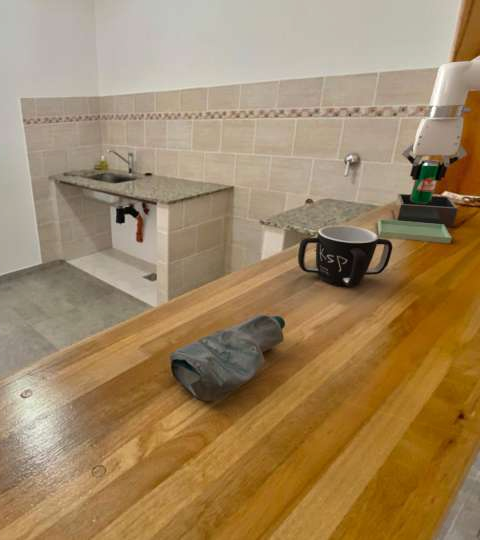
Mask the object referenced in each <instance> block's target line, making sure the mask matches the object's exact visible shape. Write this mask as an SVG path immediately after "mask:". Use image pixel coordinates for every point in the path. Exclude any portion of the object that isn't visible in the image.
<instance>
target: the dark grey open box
mask: <svg viewBox="0 0 480 540" xmlns="http://www.w3.org/2000/svg"><path fill="white" fill-rule="evenodd" d="M410 197H411V193H409V194H407V193H406V194H405V193H397V195H396V200H395V204H394V208H393V215H394V220H396V221H408V222H420V223H432V224H444V225H445V227H446V228H450V229H452V228H453V226H454V223H455V220H456V216H457V213H458V210H459V208H458V206H457V205H456V203H455V202H454V201H453V199H452V198H451V197H450V196H444V195H432V199H431V201H430V202H429V203H425V204H421V203H414V202H412V201H411V200H410Z"/></svg>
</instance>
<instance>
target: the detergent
mask: <svg viewBox="0 0 480 540" xmlns="http://www.w3.org/2000/svg"><path fill="white" fill-rule="evenodd" d="M285 326H286V322H285V320H284V318H283V317H282V316H279V315H275V316H274V315H273V316H270V315H268V314H265V313H264V314H263V313H259V314H255V315H252V316H251V317H249V318H247V319H245V320H244V321H242V322H240V323H238V324H236V325H233V326H231V327H228V328H222V329H218V330H216V331H214V332H212V333H210V334H209V335H205V336H203V337H201V338H199V339H198V340H196V341H193V342H191V343H188V344H186V345H184V346H182V347H180V348H178V349H176V350H174V351H172V353H171V354H170V355H169V362H170V363H169V364H170V369H171V373H172V376H173V377H174V378H175V379H176V380H177V382H179V383H180V385H181V386H183V387H184V388H185V389H186V390H187V391H188V392H189V393H190V394H191V395H192V396H194V397H195V398H197V399H199V400H201V401H216V400H218V399H221V398H222V397H224V396H226V395H227V394H229V393H231V392H232V391H234V390H235V389H237V388H238V387H240V386H242V385H243V384H246V383H247V382H248V381H250V380H252V378H254V377H255V375H256V374H257V373H258V371H259V370H260V369H261V368H262V366H264V364H265V358H264V355H263V353H264V352H266V351H267V350H269V349H271V348H274V347H276V346H277V345H279V344H281V343H282V342H284V340H285V336H284V332H283V329H284V328H285Z"/></svg>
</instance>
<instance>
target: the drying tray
mask: <svg viewBox="0 0 480 540" xmlns="http://www.w3.org/2000/svg"><path fill="white" fill-rule="evenodd" d="M377 228H378V229H377V230H378V237H382V238H383V237H384V238H394V239H401V240H402V239H403V240H411V241H422V242H431V243H441V244H451V242H452V236H451V234H450V232H449V230H448V229H447V228H448V227H445V225H444V224H432V223H420V222H408V221H396V219H382V218H379V219H378V222H377Z"/></svg>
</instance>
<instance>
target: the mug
mask: <svg viewBox="0 0 480 540" xmlns="http://www.w3.org/2000/svg"><path fill="white" fill-rule="evenodd" d="M308 244H315V266H309V265H307V264H306V253H307V247H308ZM377 245H383V249H382V253H381V257H380V260H379V262H378V263H377V265H375V267H371V268H370V265H371V262H372V260H373V257H374V255H375V252H376V249H377ZM393 249H394V247H393V243H392V242H391V240H389V239H386V238H379V234H377V233H375V231H372V230H369V229H367V228H362V227H358V226H352V225H327V226H323V227H321V228H320V229H318V231H317V236H316V237H304V238H303V239H302V240H301V241H300V243H299V248H298V252H297V253H298V254H297V262H298V265H299V268H300V269H301V271H303V272H305V273H310V274H311V273H312V274H316V275H317V276H318V278H319V279H320V281H322V282H324V283H326V284H329V285H333V286H336V287H349V288H356V287H358V286H359V285H360V283H361V282H362V280H363V279H364V277H365V276H366V275H369V276H372V275H379V274H381V273H383V271H385V269H386V268H387V266H388V264H389V262H390V259H391V257H392V252H393Z"/></svg>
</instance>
